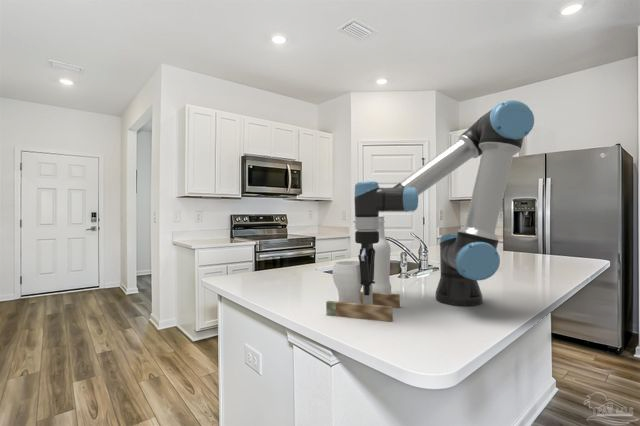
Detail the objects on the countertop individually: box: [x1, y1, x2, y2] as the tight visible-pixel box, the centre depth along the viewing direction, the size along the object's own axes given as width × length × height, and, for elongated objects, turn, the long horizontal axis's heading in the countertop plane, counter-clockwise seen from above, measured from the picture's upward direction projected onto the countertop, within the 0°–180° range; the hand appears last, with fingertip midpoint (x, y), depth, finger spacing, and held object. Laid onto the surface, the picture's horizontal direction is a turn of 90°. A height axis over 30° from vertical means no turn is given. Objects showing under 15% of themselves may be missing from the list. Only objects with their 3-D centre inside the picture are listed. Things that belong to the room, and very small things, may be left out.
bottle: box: [371, 214, 392, 294], centre depth 127 cm, size 8×8×30 cm
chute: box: [325, 290, 401, 322], centre depth 109 cm, size 20×16×4 cm
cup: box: [332, 260, 363, 304], centre depth 111 cm, size 11×11×15 cm
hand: (367, 304), depth 108 cm, fingers closed
